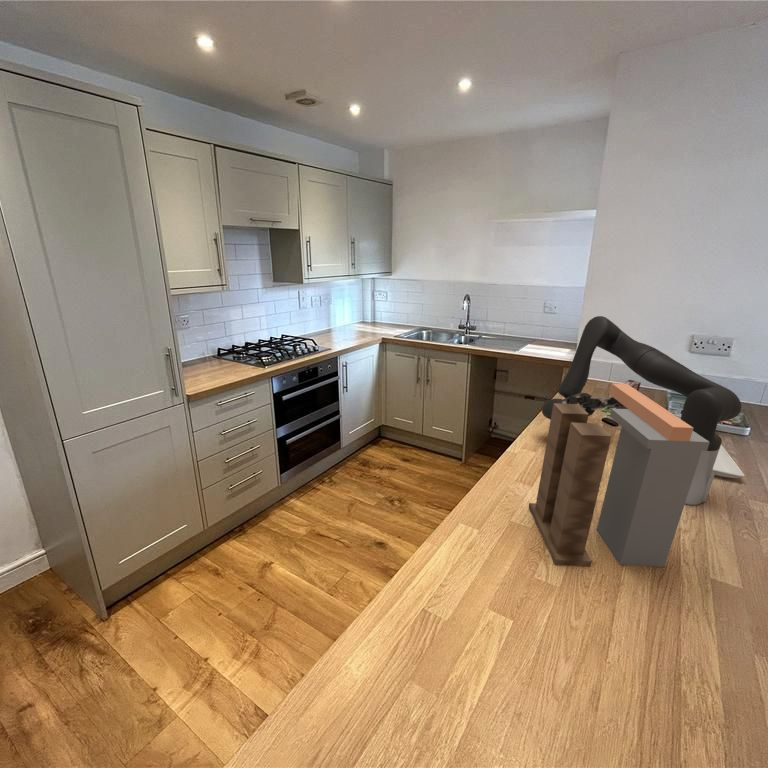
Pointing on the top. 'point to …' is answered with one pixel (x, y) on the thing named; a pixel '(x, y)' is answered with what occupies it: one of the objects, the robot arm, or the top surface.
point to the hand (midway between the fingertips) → (602, 399)
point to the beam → (651, 413)
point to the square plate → (726, 465)
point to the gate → (570, 483)
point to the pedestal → (646, 491)
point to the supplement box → (633, 384)
